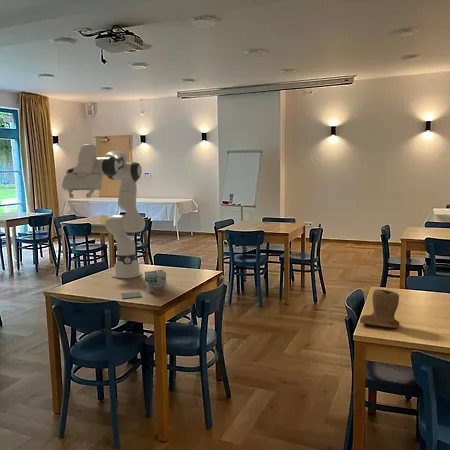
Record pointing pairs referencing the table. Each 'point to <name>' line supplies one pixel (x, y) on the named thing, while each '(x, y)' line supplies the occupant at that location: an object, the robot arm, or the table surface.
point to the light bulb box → (154, 279)
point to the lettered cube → (158, 290)
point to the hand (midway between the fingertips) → (79, 197)
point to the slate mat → (131, 295)
